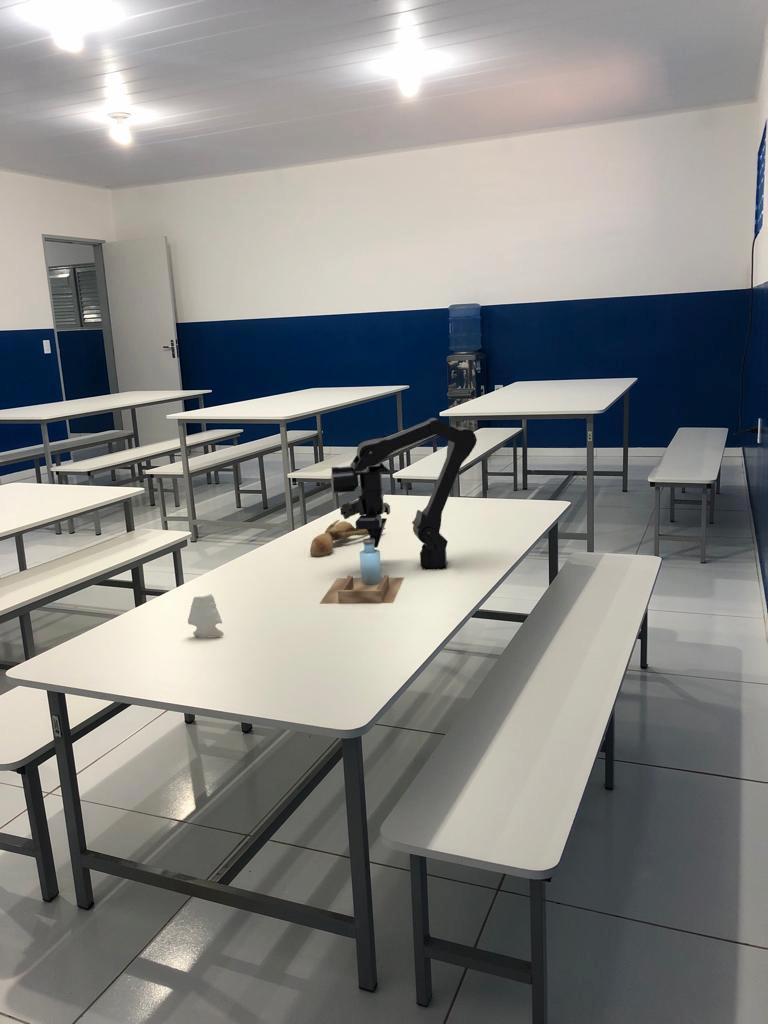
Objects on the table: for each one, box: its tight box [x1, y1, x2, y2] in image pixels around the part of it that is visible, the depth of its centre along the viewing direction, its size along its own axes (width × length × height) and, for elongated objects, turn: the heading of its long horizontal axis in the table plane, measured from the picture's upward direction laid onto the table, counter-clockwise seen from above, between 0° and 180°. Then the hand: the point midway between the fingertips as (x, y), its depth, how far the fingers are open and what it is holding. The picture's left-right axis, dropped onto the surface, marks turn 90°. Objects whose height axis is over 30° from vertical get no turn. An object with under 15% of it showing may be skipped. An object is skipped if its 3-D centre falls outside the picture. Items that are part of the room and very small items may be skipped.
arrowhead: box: [187, 593, 224, 638], centre depth 186 cm, size 8×2×10 cm, turn 81°
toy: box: [309, 519, 386, 558], centre depth 259 cm, size 17×8×30 cm
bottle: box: [359, 537, 383, 585], centre depth 216 cm, size 5×5×11 cm
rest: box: [319, 574, 405, 605], centre depth 211 cm, size 18×20×4 cm
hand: (375, 547), depth 224 cm, fingers closed
